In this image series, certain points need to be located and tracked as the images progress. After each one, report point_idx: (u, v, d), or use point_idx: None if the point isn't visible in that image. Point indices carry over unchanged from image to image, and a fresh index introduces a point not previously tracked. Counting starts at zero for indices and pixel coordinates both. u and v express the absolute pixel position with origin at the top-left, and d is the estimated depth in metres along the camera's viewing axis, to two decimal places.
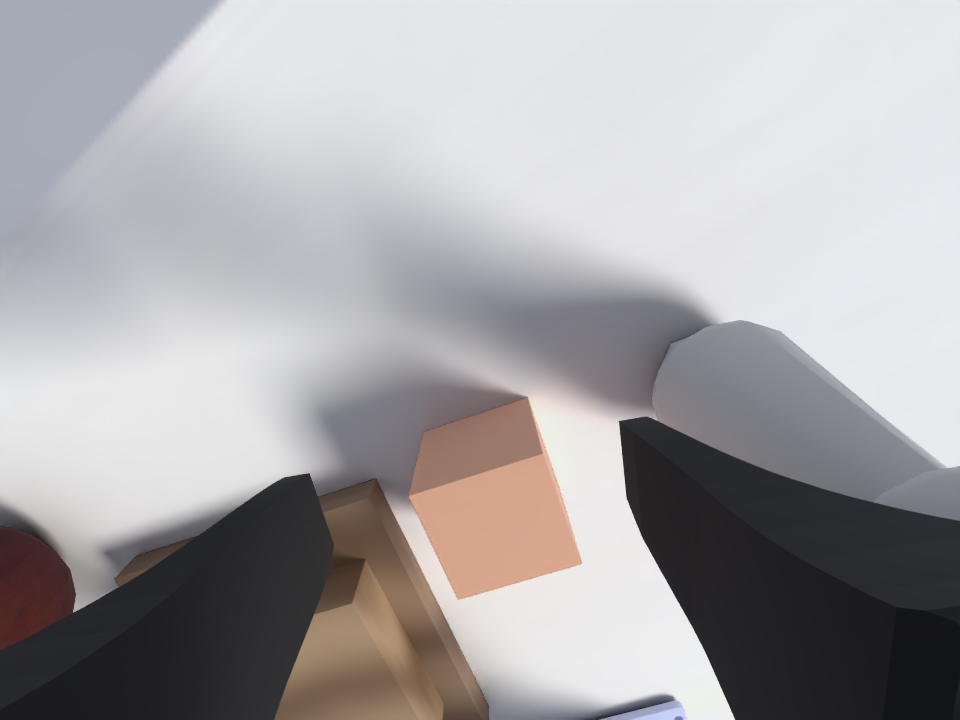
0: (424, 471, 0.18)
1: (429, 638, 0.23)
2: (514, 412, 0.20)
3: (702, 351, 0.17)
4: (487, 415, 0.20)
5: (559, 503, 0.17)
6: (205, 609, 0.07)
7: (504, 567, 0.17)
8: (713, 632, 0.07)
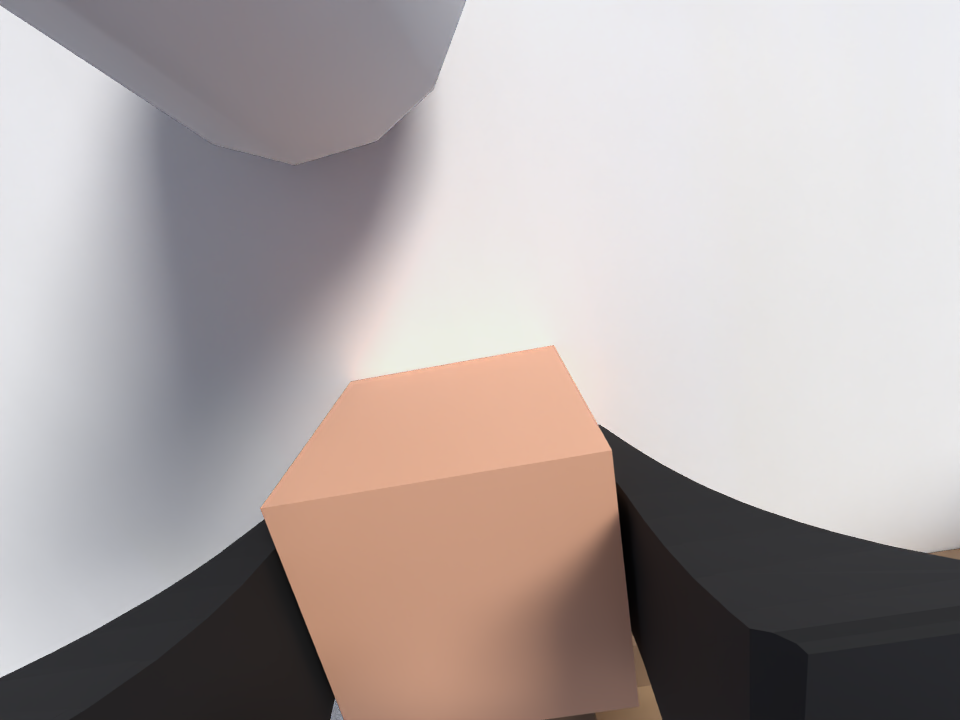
0: None
1: None
2: None
3: None
4: None
5: (407, 486, 0.06)
6: (271, 599, 0.07)
7: (573, 616, 0.07)
8: (646, 642, 0.07)
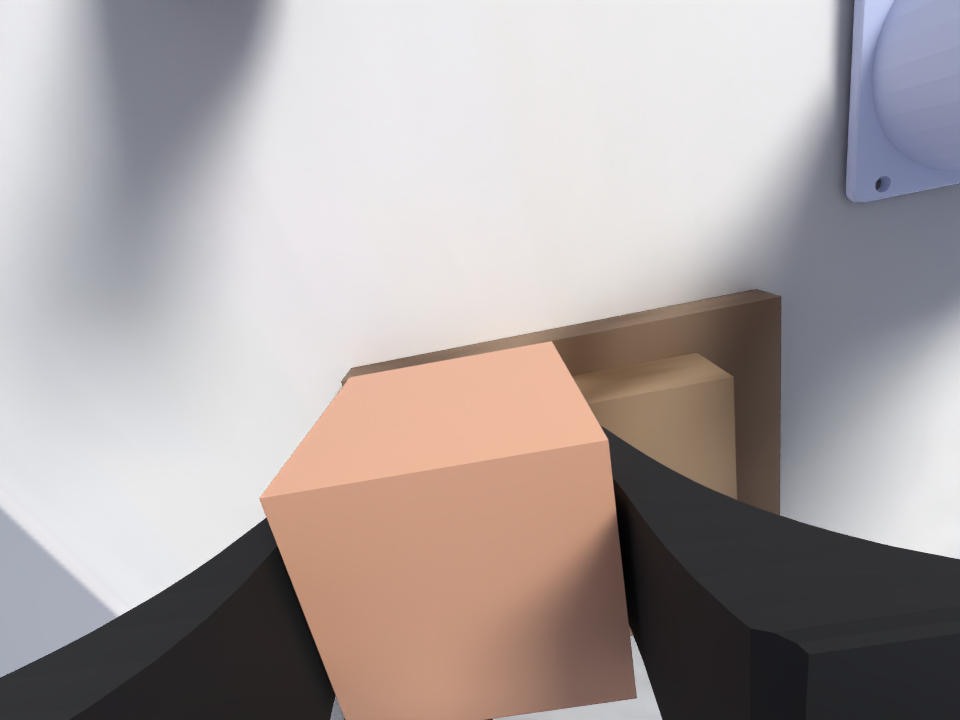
0: None
1: (571, 351, 0.17)
2: None
3: None
4: None
5: (406, 476, 0.07)
6: (271, 599, 0.07)
7: (571, 606, 0.07)
8: (646, 642, 0.07)
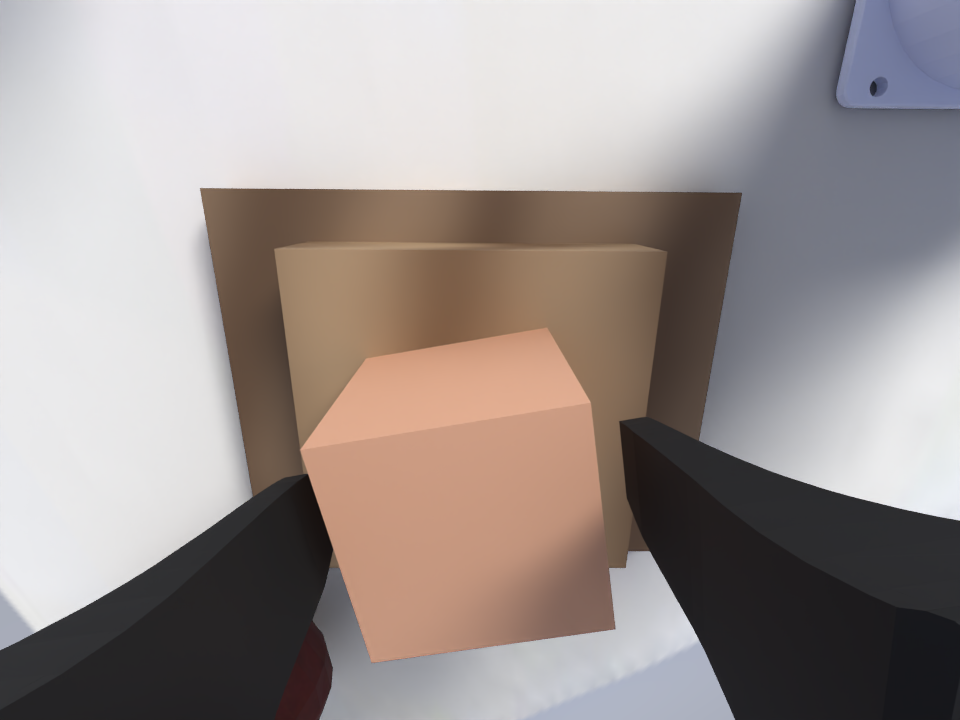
0: None
1: (489, 209, 0.14)
2: None
3: None
4: None
5: (422, 432, 0.08)
6: (205, 609, 0.07)
7: (559, 546, 0.09)
8: (713, 632, 0.07)
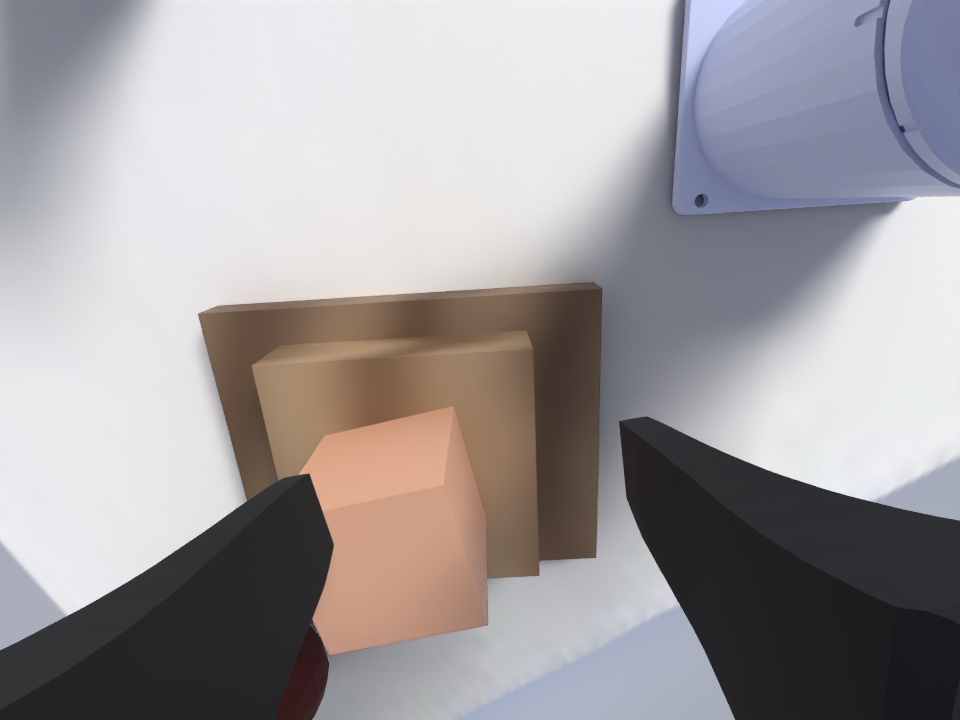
0: None
1: (412, 313, 0.18)
2: None
3: None
4: None
5: (341, 508, 0.12)
6: (205, 610, 0.07)
7: (440, 573, 0.13)
8: (713, 632, 0.07)
